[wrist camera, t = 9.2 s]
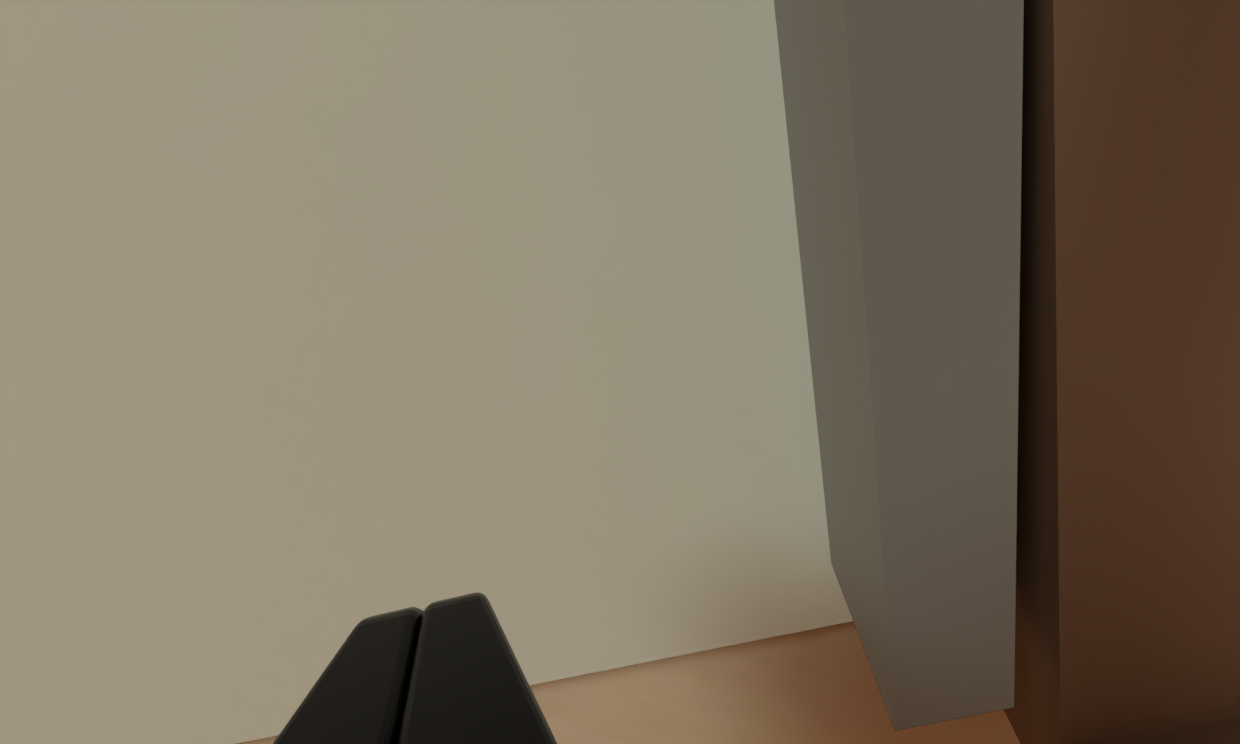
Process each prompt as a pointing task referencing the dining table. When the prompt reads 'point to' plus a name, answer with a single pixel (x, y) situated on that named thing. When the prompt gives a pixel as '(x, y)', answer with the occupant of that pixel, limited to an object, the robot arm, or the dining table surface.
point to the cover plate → (501, 342)
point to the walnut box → (1129, 374)
